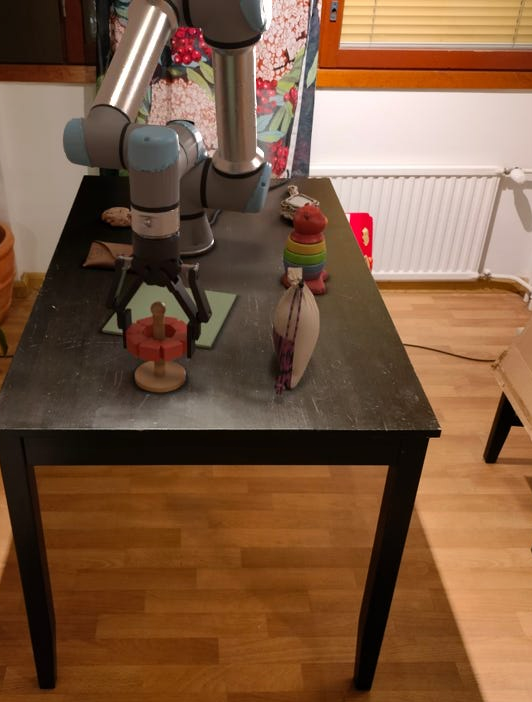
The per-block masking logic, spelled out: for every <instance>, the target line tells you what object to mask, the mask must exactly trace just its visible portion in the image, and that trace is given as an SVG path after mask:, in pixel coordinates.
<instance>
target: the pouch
mask: <svg viewBox="0 0 532 702" xmlns="http://www.w3.org/2000/svg"><path fill="white" fill-rule="evenodd" d="M287 276H288V282H289V283H290V284H291V287H290V288H289V287H288V289H287V290H286V291H285V293H284V294H283V295H282V297H281V298H280V300H279V301H278V303H277V305H276V308H275V310H274V314H273V319H272V339H273V344H274V350H275V353H276V354H275V355H276V359H277V363H278V367H279V372H278V373H279V374H278V381H277V383H276V384H274V390H275V395H276V396H278V395H279V396H282V395H283V392H284V391H286V387H287V388H288V389H290V390H291V389H294V388H295V387H297V385H298V384H299V382H300V380H301V379H302V377H303V375H304V373H305V371H306V369H307V366H308V365H309V362H310V361H311V358H312V356H313V353H314V350H315V348H316V345H317V341H318V339H319V338H318V337H319V334H320V328H321V327H320V310H319V308H318V304H317V302H316V299H315V296H314V294H312V293H311V291H310V290H309V289H308V287H307V286H306V283H305V281H304V280H302V268H291V267H289V268H288V272H287Z"/></svg>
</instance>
